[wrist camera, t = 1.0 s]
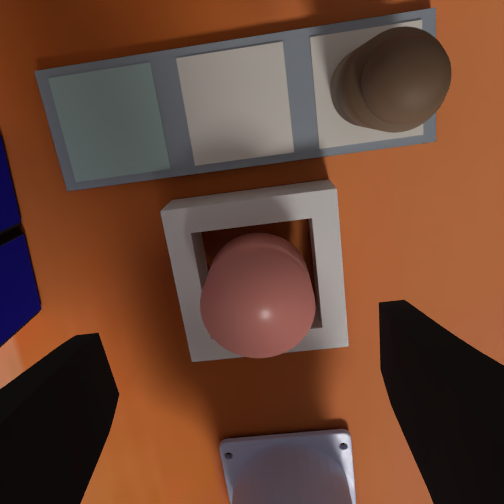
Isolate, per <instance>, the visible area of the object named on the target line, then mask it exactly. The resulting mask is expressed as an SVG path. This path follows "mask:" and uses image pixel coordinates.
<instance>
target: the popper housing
mask: <svg viewBox="0 0 504 504" xmlns="http://www.w3.org/2000/svg"><path fill="white" fill-rule="evenodd" d="M160 213H161V218H162V223H163V228H164V232H165V237H166V242H167V247H168V251H169V256H170V261H171V266H172V270H173V275H174V280H175V285H176V289H177V294H178V299H179V304H180V308H181V313H182V318H183V323H184V327H185V332H186V337H187V342H188V346H189V351H190V356H191V361H192V362H199V361H209V360H219V359H229V358H239V357H244V356H240V355H237V354H235V353H232V352H230V351H228V350H227V349H225V348H223V347H222V346H221V345H219V344H218V343H217V342H216V341H215V340H214V339H213V338H212V337H211V335H210V334H209V333H208V331H207V329H206V328H205V325H204V323H203V321H202V317H201V312H200V298H201V293H202V290H203V287H204V284H205V281H206V278H207V276H208V273H209V272H208V267H207V261H206V256H205V250H204V245H203V239H202V234H201V232H204V231H212V230H220V229H228V228H236V227H245V226H253V225H261V224H269V223H277V222H285V221H293V220H301V219H309V229H310V239H311V249H312V260H313V270H314V280H315V290H316V300H317V305H316V306H315V316H314V320H313V323H312V325H311V328H310V330H309V331H308V333H307V334H306V336H305V337H304V338H303V339H302V340H301V341H300V342H299V343H298V344H297V345H296V346H295V347H293V348H292V349H290V350H288V351H287V352H284V353H288V352H298V351H308V350H318V349H328V348H338V347H348V346H349V344H348V331H347V317H346V304H345V291H344V278H343V264H342V251H341V238H340V225H339V211H338V198H337V188H336V187H335V186H334V185H333V183H332V182H331V181H330V180H329V179H328V180H320V181H313V182H305V183H297V184H290V185H282V186H275V187H267V188H259V189H252V190H244V191H236V192H229V193H221V194H213V195H206V196H198V197H190V198H183V199H175V200H171V201H170V202H169V203H168V204H167V205H166V206H165V207H164V208H163V209H162V210H161V211H160Z"/></svg>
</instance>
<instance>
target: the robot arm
mask: <svg viewBox="0 0 504 504" xmlns="http://www.w3.org/2000/svg"><path fill="white" fill-rule="evenodd" d="M379 325H380V366H381V372H382V376H383V379H384V383H385V386H386V390H387V393H388V396H389V399H390V403H391V406H392V408H393V411H394V413H395V415H396V418H397V420H398V422H399V424H400V427H401V429H402V431H403V434H404V436H405V438H406V441H407V443H408V445H409V447H410V450H411V452H412V454H413V456H414V459H415V461H416V463H417V466H418V468H419V470H420V472H421V475H422V477H423V479H424V481H425V484H426V486H427V488H428V491H429V493H430V496H431V498H432V501H433V503H434V504H504V365H502V364H500V363H498V362H497V361H495V360H493V359H492V358H490V357H488V356H487V355H485V354H483V353H481V352H480V351H478V350H477V349H475V348H473V347H472V346H470V345H469V344H467V343H466V342H464V341H463V340H461V339H459V338H458V337H457V336H455V335H454V334H452V333H451V332H449V331H448V330H446V329H445V328H443V327H442V326H440V325H439V324H438V323H436V322H435V321H433V320H432V319H431V318H429V317H428V316H426V315H425V314H424V313H422V312H421V311H419V310H418V309H417V308H415V307H414V306H412V305H411V304H410V303H408V302H407V301H405V300H399V301H389V302H380V303H379ZM118 397H119V392H118V389H117V386H116V383H115V380H114V377H113V374H112V372H111V369H110V366H109V363H108V360H107V357H106V354H105V351H104V348H103V345H102V342H101V339H100V336H99V333H93V334H84V335H76V336H74V337H72V338H71V339H69V340H68V341H66V342H65V343H63V344H62V345H60V346H59V347H57V348H56V349H54V350H53V351H52V352H50V353H49V354H48V355H46V356H45V357H44V358H42V359H41V360H39V361H38V362H37V363H35V364H34V365H33V366H31V367H30V368H29V369H27V370H26V371H25V372H23V373H22V374H21V375H19V376H18V377H17V378H15V379H14V380H12V381H11V382H10V383H8V384H7V385H6V386H4V387H3V388H1V389H0V504H80V503H81V501H82V498H83V496H84V493H85V491H86V488H87V486H88V484H89V481H90V479H91V476H92V474H93V472H94V469H95V467H96V464H97V462H98V459H99V457H100V454H101V452H102V449H103V447H104V444H105V442H106V439H107V437H108V434H109V432H110V428H111V425H112V421H113V418H114V414H115V410H116V406H117V401H118ZM341 443H346V444H344V445H340V444H341ZM219 450H220V455H221V460H222V465H223V470H224V475H225V480H226V485H227V490H228V495H229V500H230V504H356V494H355V481H354V469H353V456H352V444H351V436H350V433H349V431H348V430H346V429H333V430H321V431H310V432H298V433H287V434H275V435H264V436H252V437H240V438H229V439H224V440H222V441H221V442H220V446H219ZM226 453H231V454H226Z"/></svg>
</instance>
